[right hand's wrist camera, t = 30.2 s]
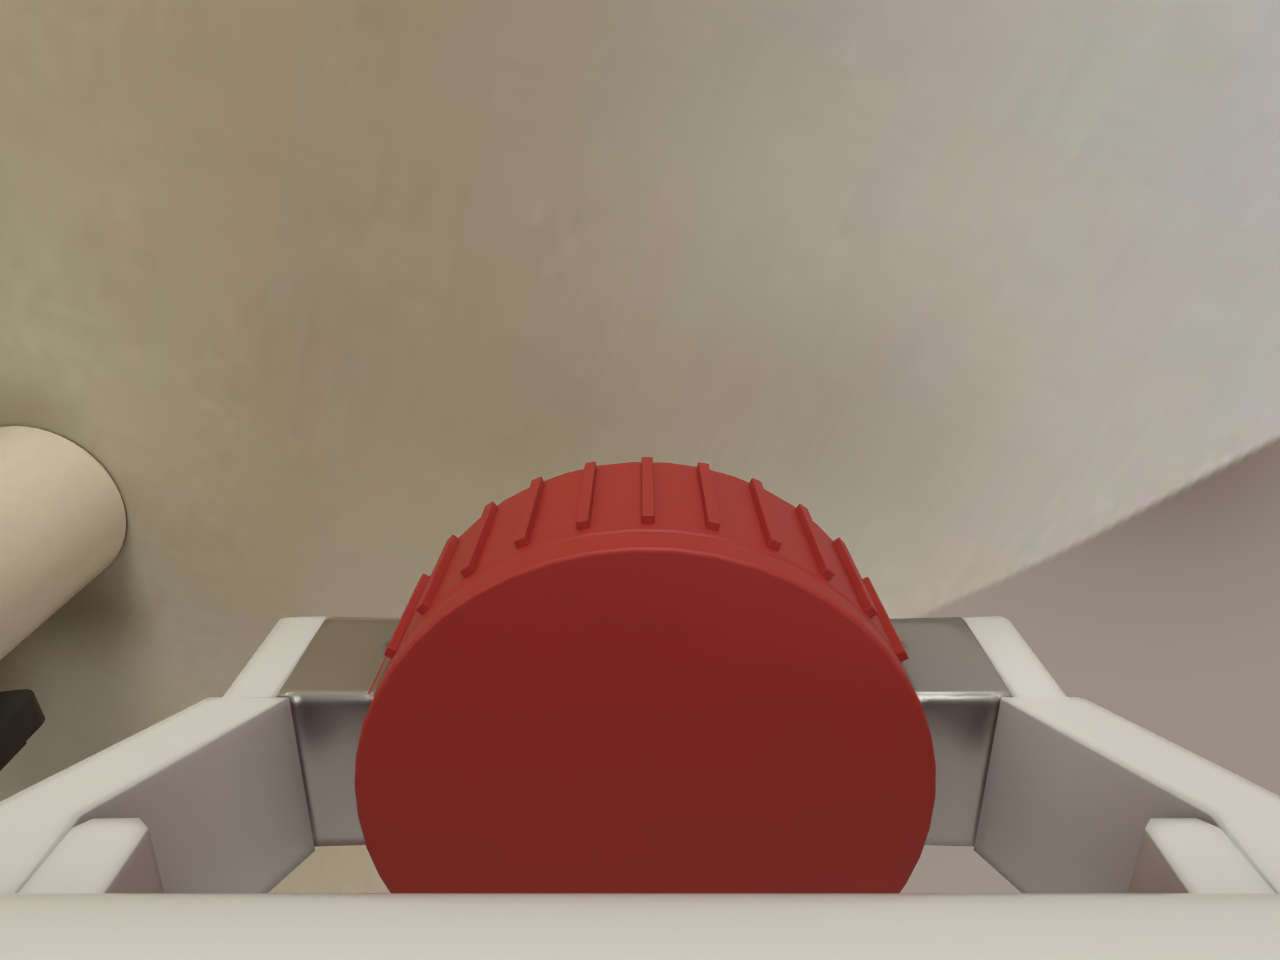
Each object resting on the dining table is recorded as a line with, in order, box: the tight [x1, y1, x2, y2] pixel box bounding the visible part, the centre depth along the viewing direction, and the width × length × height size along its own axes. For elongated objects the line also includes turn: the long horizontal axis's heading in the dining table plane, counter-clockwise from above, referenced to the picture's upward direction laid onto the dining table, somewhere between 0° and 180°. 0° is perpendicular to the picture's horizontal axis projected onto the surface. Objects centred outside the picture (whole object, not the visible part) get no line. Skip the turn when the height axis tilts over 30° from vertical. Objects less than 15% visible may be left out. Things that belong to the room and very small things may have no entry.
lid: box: [355, 457, 936, 893], centre depth 9 cm, size 6×6×2 cm
